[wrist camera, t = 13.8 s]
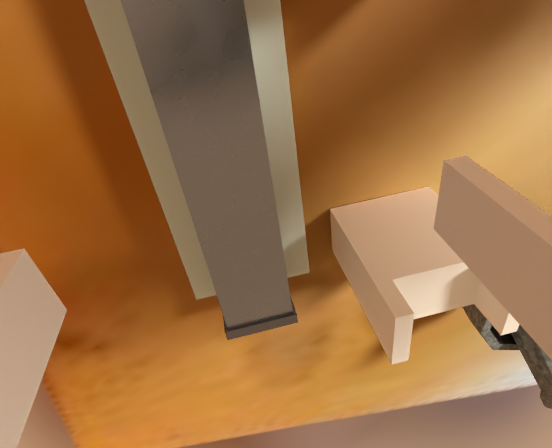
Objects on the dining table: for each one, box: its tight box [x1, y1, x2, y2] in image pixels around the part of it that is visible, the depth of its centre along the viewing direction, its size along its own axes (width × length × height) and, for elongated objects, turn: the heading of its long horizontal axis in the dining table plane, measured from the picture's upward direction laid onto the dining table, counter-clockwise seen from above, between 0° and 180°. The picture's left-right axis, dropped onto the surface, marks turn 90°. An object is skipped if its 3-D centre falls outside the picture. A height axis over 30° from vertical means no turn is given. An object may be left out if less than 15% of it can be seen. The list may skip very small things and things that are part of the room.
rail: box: [121, 0, 298, 340], centre depth 19 cm, size 26×5×4 cm, turn 8°
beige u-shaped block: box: [330, 187, 520, 364], centre depth 24 cm, size 4×8×10 cm, turn 98°
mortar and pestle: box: [463, 304, 552, 408], centre depth 29 cm, size 11×9×12 cm
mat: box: [84, 0, 310, 300], centre depth 22 cm, size 26×9×1 cm, turn 8°
